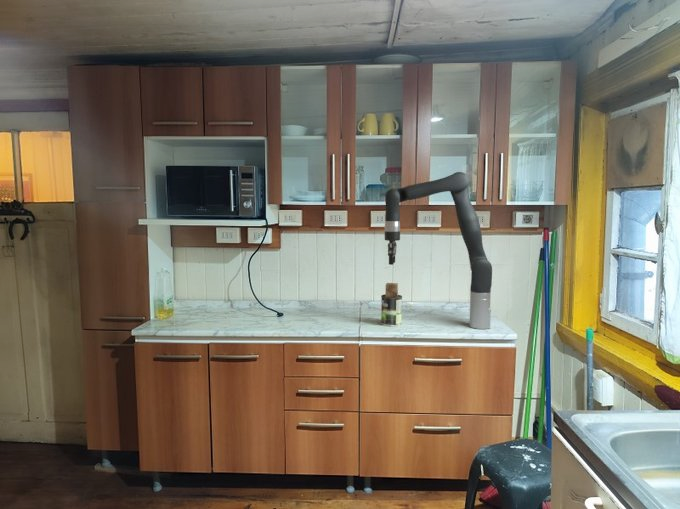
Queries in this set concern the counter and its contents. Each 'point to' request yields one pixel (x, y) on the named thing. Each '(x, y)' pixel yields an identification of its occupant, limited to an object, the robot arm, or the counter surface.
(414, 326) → the counter surface
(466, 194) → the robot arm
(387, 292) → the walnut block
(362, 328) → the counter surface
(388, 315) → the coffee can
